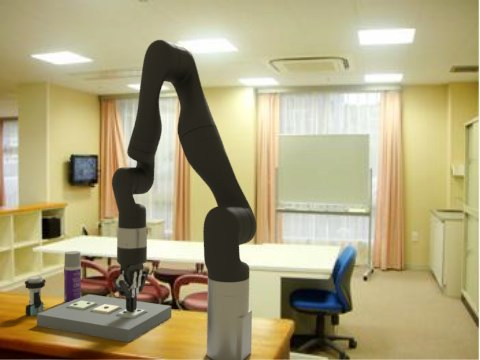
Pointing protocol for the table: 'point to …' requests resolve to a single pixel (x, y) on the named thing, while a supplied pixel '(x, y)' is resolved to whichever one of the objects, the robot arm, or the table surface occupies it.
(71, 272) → the container
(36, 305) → the push button
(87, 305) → the tile two pips
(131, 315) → the tile three pips
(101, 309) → the tile one pip
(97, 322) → the button board
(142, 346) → the table surface
